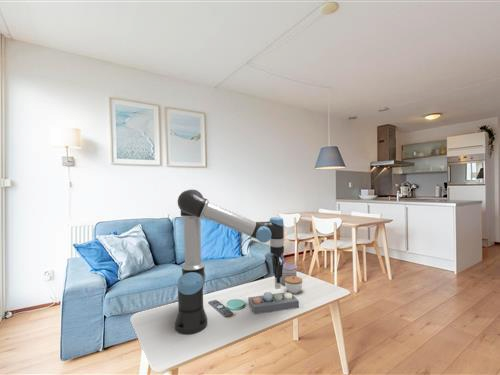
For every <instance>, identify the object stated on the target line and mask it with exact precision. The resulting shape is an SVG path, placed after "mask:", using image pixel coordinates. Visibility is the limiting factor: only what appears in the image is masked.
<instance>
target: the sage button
mask: <svg viewBox="0 0 500 375" xmlns="http://www.w3.org/2000/svg"><path fill="white" fill-rule="evenodd" d="M275 294H276V295H274V300H275V301H280V300H282V295H280V294H277V293H275Z"/></svg>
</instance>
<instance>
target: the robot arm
mask: <svg viewBox="0 0 500 375" xmlns="http://www.w3.org/2000/svg"><path fill="white" fill-rule="evenodd" d="M177 206H178V208H179V210H180V216H181V217H182V218H183V236H184V237H183V238H184V240H183V241H184V242H183V243H184V264H183V265H182V267H181V275H180V276H179V277H178V280H177V300H178V301H177V303H178V305H177V306H178V311H177V315H176V318H175V321H174V328H175V331H176V332H177V331H178V332H177V333H179V334H183V335H191V334H192V335H193V334H195V333H200V332H201V331H203V330H204V329H205V328H206V327H207V326H208V316H207V314H206V311H205V308H204V288H205V281H206V273H205V264H204V263H203V262H202V236H201V234H202V231H201V219H202V218H205V219H207V220H209V221H212V222H215V223H217V224H219V225H221V226H224V227H226V228H229V229H232V230H234V231H237V232H238V233H241V234H244V235H245V236H249V237H251V238H252V239H256V240H257V241H258V242H260V243H264V244H265V243H268V242H269V244H270V245H269V246H270V247H269V249H270V254H272V255H271V262H272V274H274V288H275V290H279V289H282V288H281V286H282V285H281V284H280V277H282V271H283V264H284V263H285V262H284V260H282V259H283V257H282V254H284V253H285V246H284V245H285V242H284V241H285V238H284V237H285V236H284V235H285V234H284V231H285V230H284V229H285V228H284V227H285V226H284V219H283V218H282V217H279V216H278V217H275V216H274V217H270V218H269V221H254V220H251V219H250V218H247V217H245V216H242V215H239V214H237V213H235V212H233V211H230V210H227V209H225V208H224V207H221V206H218V205H217V204H214V203H211V202H210V201H209V199H207V198H205V197H204V196H203V194H202V193H201V192H200V191H199V190H197V189H192V188H191V189H188V190H184V191H182V192H181V193H180V194H179V196H178V197H177Z"/></svg>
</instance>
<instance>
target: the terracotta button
mask: <svg viewBox="0 0 500 375" xmlns="http://www.w3.org/2000/svg"><path fill="white" fill-rule="evenodd" d="M254 297H255V296H254ZM253 303H254V304H259V303H261V298H260V297H255V298H253Z"/></svg>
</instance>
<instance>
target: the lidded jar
mask: <svg viewBox="0 0 500 375" xmlns="http://www.w3.org/2000/svg"><path fill="white" fill-rule="evenodd" d="M302 278H303V277H300V276H297V275H296V276H289V277H286V278H285V286H284V287H285V288H286V291H287V292H291V293H292V294H293V295H296V294H298V293H299V292H300V291H301V290H302V288H303V279H302Z"/></svg>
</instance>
